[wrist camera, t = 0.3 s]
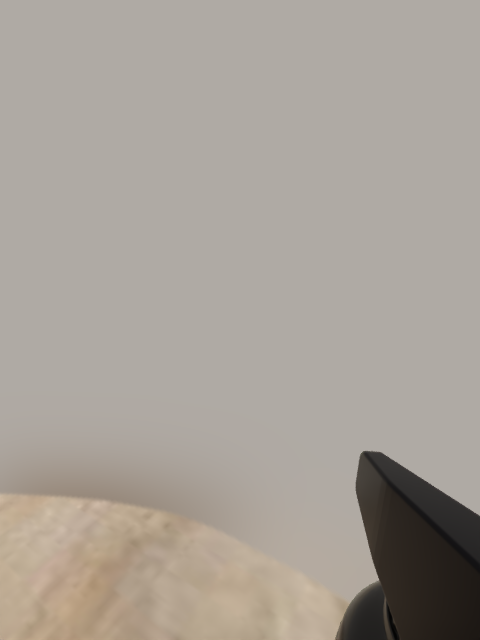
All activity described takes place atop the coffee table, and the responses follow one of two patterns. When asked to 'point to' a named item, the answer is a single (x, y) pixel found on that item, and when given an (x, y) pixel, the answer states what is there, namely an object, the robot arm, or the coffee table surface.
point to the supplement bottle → (368, 617)
